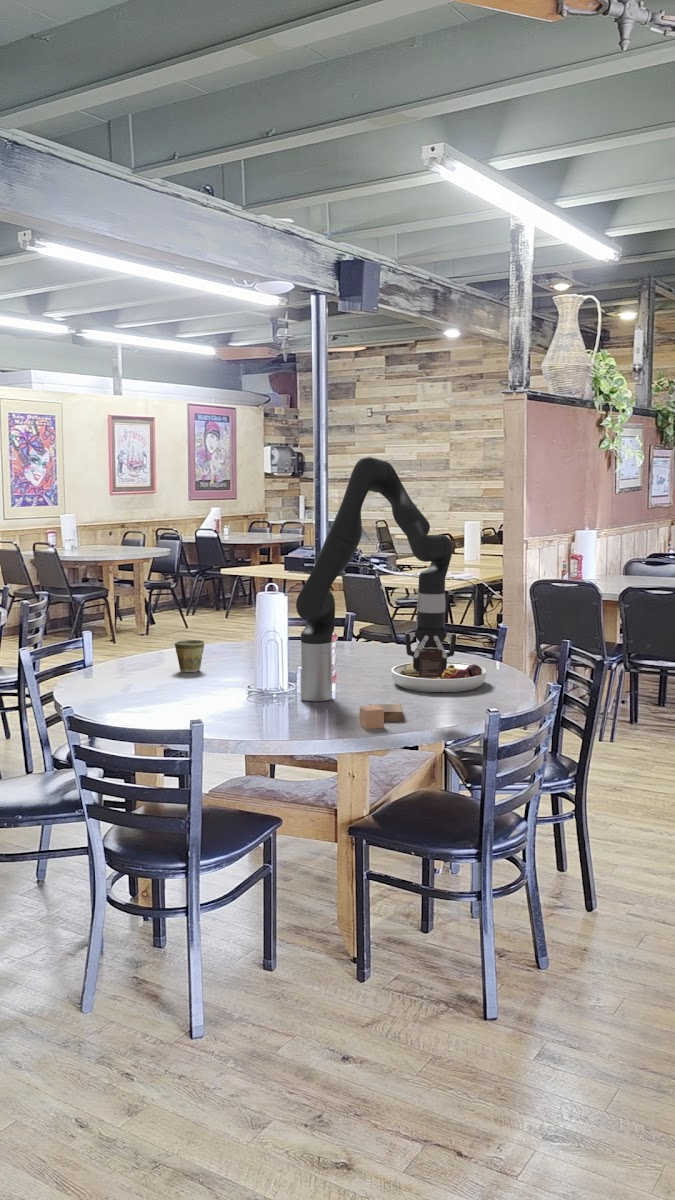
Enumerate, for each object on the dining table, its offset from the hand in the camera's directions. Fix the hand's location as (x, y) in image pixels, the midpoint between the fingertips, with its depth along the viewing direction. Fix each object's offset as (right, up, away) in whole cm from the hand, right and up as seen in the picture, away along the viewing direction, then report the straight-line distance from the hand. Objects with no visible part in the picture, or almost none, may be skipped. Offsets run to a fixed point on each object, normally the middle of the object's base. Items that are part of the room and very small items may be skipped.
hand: (429, 671), depth 271 cm
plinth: (-11, -14, +7) cm, 19 cm away
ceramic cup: (-75, -5, +75) cm, 106 cm away
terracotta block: (-16, -14, -3) cm, 22 cm away
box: (0, -1, 0) cm, 2 cm away
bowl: (+7, -8, +50) cm, 51 cm away
